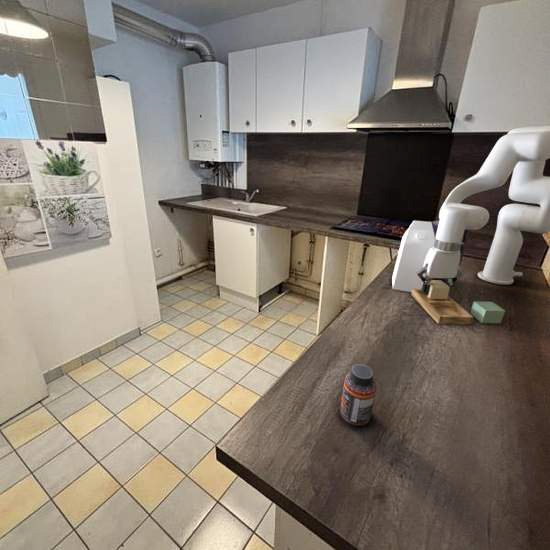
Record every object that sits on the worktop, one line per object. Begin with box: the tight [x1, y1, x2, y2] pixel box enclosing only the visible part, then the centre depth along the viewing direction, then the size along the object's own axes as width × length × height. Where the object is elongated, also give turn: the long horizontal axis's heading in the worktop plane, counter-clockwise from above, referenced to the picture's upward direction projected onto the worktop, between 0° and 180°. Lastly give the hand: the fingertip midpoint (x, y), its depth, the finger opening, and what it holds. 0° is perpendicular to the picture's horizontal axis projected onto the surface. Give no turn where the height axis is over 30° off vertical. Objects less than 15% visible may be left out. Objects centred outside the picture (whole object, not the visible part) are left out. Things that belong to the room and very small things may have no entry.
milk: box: [391, 220, 435, 293], centre depth 111 cm, size 12×12×26 cm
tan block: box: [426, 280, 451, 299], centre depth 102 cm, size 6×6×4 cm
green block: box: [469, 300, 506, 324], centre depth 94 cm, size 6×6×4 cm
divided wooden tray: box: [410, 289, 475, 325], centre depth 99 cm, size 10×20×3 cm, turn 0°
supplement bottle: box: [339, 363, 377, 427], centre depth 56 cm, size 6×6×11 cm
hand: (434, 293), depth 103 cm, fingers closed on tan block, 6 cm apart
